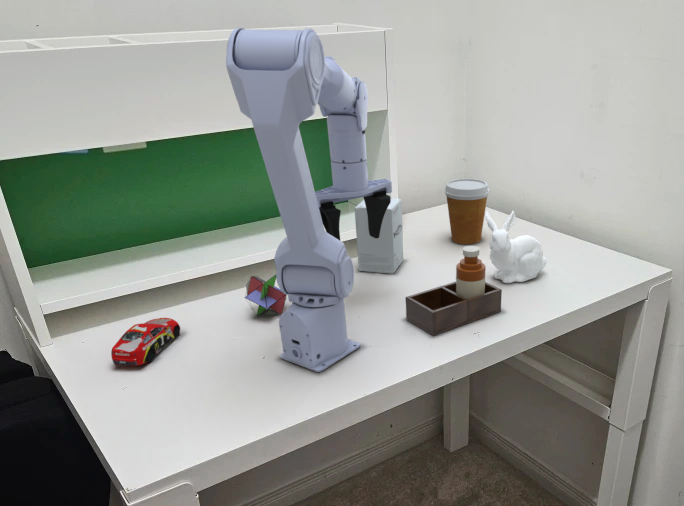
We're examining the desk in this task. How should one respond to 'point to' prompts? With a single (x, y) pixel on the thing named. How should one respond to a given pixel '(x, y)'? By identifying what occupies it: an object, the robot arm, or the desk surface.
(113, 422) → the desk surface
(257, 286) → the geometric puzzle
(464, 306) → the wooden compartment tray
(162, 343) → the race car
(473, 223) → the disposable coffee cup
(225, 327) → the desk surface
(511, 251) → the rabbit
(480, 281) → the amber bottle
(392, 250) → the white packaging box
